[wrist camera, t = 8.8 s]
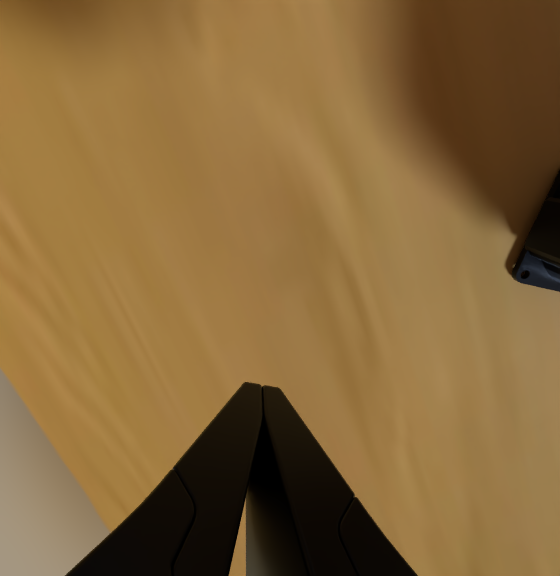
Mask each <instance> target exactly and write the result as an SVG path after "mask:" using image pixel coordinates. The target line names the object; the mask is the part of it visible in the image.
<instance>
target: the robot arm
mask: <svg viewBox="0 0 560 576" xmlns="http://www.w3.org/2000/svg"><path fill="white" fill-rule="evenodd" d="M523 271H525V274H524V275H523V276H521V273H522V272H523ZM512 277H513V279H514V280H516V281H518V282H520V283H523V284H528V285H532V286H537V287H541V288H546V289H550V290H555V291H559V292H560V170H559V172H558V174H557V177H556V179H555V181H554V183H553V185H552V187H551V189H550V191H549V194H548V196H547V198H546V200H545V201H544V203H543V206H542V208H541V210H540V212H539V214H538V216H537V218H536V220H535V223H534V225H533V227H532V229H531V231H530V233H529V235H528V238H527V240H526V242H525V245H524V247H523V249H522V251H521V253H520V256H519V258H518V260H517V262H516V264H515V266H514V268H513V271H512ZM245 498H246V576H418V575H417V574H416V573H415V572H414V570H413V569H412V568H411V567H410V566H409V565H408V563H407V562H406V561H405V560H404V558H403V557H402V556H401V555H400V553H399V552H398V551H397V550H396V549H395V547H394V546H393V545H392V544H391V542H390V541H389V540H388V539H387V538H386V536H385V535H384V534H383V532H382V531H381V529H380V528H379V527H378V525H377V524H376V523H375V521H374V520H373V519H372V517H371V516H370V515H369V513H368V512H367V511H366V509H365V508H364V506H363V505H362V503H361V502H360V501H359V499H358V498H357V497H355V494H354V492H353V491H352V490H351V488H350V487H349V485H348V484H347V483H346V481H345V480H344V478H343V477H342V475H341V474H340V473H339V471H338V470H337V468H336V467H335V466H334V464H333V463H332V461H331V460H330V458H329V457H328V456H327V454H326V453H325V451H324V450H323V449H322V447H321V446H320V444H319V443H318V441H317V440H316V439H315V437H314V436H313V434H312V433H311V432H310V430H309V429H308V427H307V426H306V425H305V423H304V422H303V420H302V419H301V417H300V416H299V415H298V413H297V412H296V410H295V409H294V408H293V406H292V405H291V403H290V402H289V400H288V399H287V398H286V396H285V395H284V393H283V392H282V391H281V389H280V388H278V387H272V386H266V385H264V386H263V387H262V386H261V385H260V384H255V383H249V382H245V383H243V384H242V386H241V387H240V388H239V389H238V390H237V391H236V393H235V394H234V395H233V396H232V397H231V399H230V400H229V401H228V402H227V403H226V405H225V406H224V407H223V408H222V409H221V411H220V412H219V413H218V414H217V415H216V417H215V418H214V419H213V420H212V421H211V423H210V424H209V425H208V426H207V427H206V429H205V430H204V431H203V432H202V433H201V435H200V436H199V437H198V438H197V439H196V441H195V442H194V443H193V444H192V445H191V447H190V448H189V449H188V450H187V451H186V452H185V454H184V455H183V456H182V457H181V458H180V460H179V461H178V462H177V463H176V464H175V466H174V467H173V469H172V470H170V471H169V473H168V474H167V475H166V476H165V477H164V479H163V480H162V481H161V482H160V483H159V484H158V486H157V487H156V488H155V489H154V490H153V491H152V492H151V493H150V494H149V496H148V497H147V498H146V499H145V500H144V501H143V502H142V503H141V504H140V505H139V506H138V507H137V508H136V509H135V510H134V511H133V512H132V513H131V514H130V515H129V516H128V517H127V518H126V519H125V520H124V521H123V522H122V523H121V524H120V525H119V526H118V527H117V528H116V529H115V530H114V531H113V532H111V533H110V534H109V535H108V536H107V537H106V538H105V539H104V540H103V541H102V542H101V543H100V544H99V545H97V547H95V548H94V549H93V550H92V551H91V552H90V553H89V554H88V555H87V556H86V557H84V558H83V559H82V560H81V561H80V562H79V563H78V564H77V565H76V566H75V567H74V568H73V569H72V570H70V571H69V572H68V573H67V574H66V575H65V576H229V571H230V567H231V562H232V557H233V553H234V548H235V544H236V539H237V535H238V530H239V526H240V521H241V517H242V512H243V508H244V503H245Z"/></svg>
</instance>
